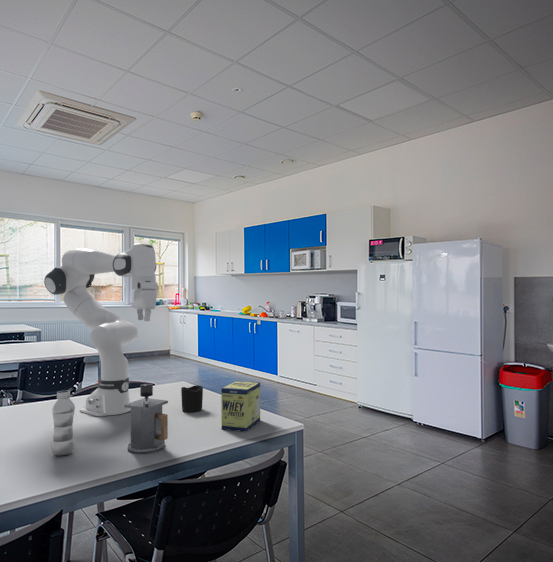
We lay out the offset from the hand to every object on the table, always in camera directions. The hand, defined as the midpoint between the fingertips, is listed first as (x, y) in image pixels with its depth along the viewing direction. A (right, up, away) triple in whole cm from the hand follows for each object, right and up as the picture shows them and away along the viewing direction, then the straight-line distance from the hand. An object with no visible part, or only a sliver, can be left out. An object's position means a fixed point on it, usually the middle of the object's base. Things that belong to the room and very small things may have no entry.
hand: (143, 320), depth 166 cm
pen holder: (+14, -42, +23) cm, 50 cm away
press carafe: (+8, -41, -22) cm, 47 cm away
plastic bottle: (-17, -41, -28) cm, 52 cm away
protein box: (+38, -41, +2) cm, 56 cm away
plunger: (+8, -38, -22) cm, 45 cm away
